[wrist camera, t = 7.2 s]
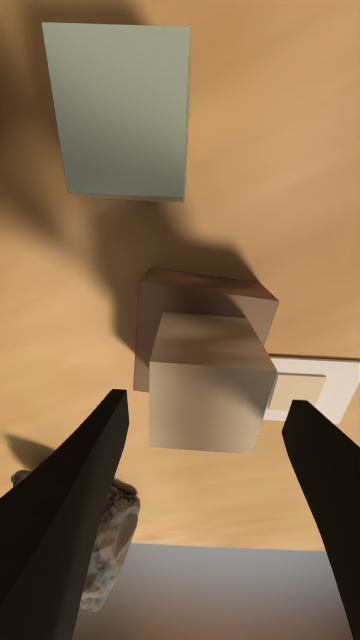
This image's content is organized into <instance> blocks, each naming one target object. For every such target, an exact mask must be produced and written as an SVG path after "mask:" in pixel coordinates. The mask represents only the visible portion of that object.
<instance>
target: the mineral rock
mask: <svg viewBox="0 0 360 640" xmlns="http://www.w3.org/2000/svg"><path fill="white" fill-rule="evenodd" d="M30 473H31V471H28V470H20V471H17V472H16V473H15V474H14V475H13V476H12V477H11V482H13V487H14V486H16V485H17V484H18V483H19V482H21V481H22V480H23V479H24V478H25V477H27V476H28V475H29V474H30ZM139 511H140V500H139V498H138V497H137V496H135V495H133V496H131V495H129V494H126V493H124V492H122V491H120V490H117V488H116V487H115V486H111V488H110V491H109V494H108V497H107V500H106V503H105V506H104V509H103V513H102V516H101V520H100V523H99V527H98V531H97V535H96V539H95V543H94V547H93V551H92V555H91V559H90V564H89V568H88V572H87V576H86V580H85V585H84V589H83V593H82V597H81V602H80V607H81V608H82V609H86V610H88V611H89V612H94V611H98V610H99V609H100V608H101V606H102V604H103V603H104V601H105V599H106V597H107V595H108V593H109V591H110V589H111V588H112V586H113V584H114V583H115V581H116V579H117V577H118V574H119V572H120V570H121V568H122V566H123V563H124V561H125V558H126V555H127V552H128V549H129V546H130V543H131V540H132V537H133V535H134V532H135V529H136V526H137V521H138V514H139Z"/></svg>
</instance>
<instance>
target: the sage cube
mask: <svg viewBox="0 0 360 640" xmlns="http://www.w3.org/2000/svg"><path fill="white" fill-rule="evenodd" d="M41 23H42V29H43V36H44V42H45V49H46V55H47V62H48V68H49V75H50V81H51V88H52V95H53V101H54V108H55V114H56V121H57V127H58V134H59V140H60V147H61V154H62V160H63V167H64V173H65V180H66V186H67V192H68V193H74V194H79V195H85V196H91V197H96V198H102V199H113V200H136V201H159V202H182V203H185V185H186V162H187V139H188V116H189V67H190V27H176V26H145V25H114V24H83V23H51V22H41Z"/></svg>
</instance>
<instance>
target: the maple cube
mask: <svg viewBox="0 0 360 640" xmlns="http://www.w3.org/2000/svg"><path fill="white" fill-rule="evenodd" d="M276 374H277V369H276V367H275V366H274V364H273V362H272V360H271V359H270V357H269V355H268V353H267V352H266V350H265V348H264V346H263V345H262V343H261V341H260V339H259V338H258V336H257V334H256V333H255V331H254V329H253V327H252V326H251V324H250V322H249V320H248V319H247V318H241V317H227V316H213V315H199V314H185V313H171V312H163V313H162V317H161V321H160V324H159V328H158V332H157V336H156V340H155V343H154V347H153V351H152V355H151V358H150V380H149V447H158V448H172V449H185V450H199V451H212V452H226V453H239V454H252V453H253V450H254V447H255V443H256V440H257V437H258V433H259V430H260V427H261V424H262V420H263V417H264V414H265V410H266V407H267V404H268V401H269V397H270V394H271V391H272V387H273V384H274V381H275V378H276Z"/></svg>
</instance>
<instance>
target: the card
mask: <svg viewBox="0 0 360 640" xmlns="http://www.w3.org/2000/svg"><path fill="white" fill-rule="evenodd" d="M269 357H270V359H271V360H272V362H273V364H274V366H275V367H276V369H277V374H276V378H275V381H274V384H273V387H272V391H271V394H270V397H269V401H268V404H267V407H266V410H265V414H264V417H263V420H277V421H286V418H287V415H288V412H289V409H290V406H291V403H292V400H307V401H308V402H310V403H311V404H312V405H313V406H314V407H315V408H316V409H318V410H319V411H320V412H321V413H322V414H323V415H324V416H325V417H326V418H328V419H329V420H330V421H331V422H332V423H333V424H339V423H340V421H341V419H342V417H343V415H344V413H345V411H346V409H347V407H348V405H349V403H350V401H351V398H352V396H353V394H354V392H355V390H356V388H357V386H358V384H359V382H360V361H354V360H336V359H317V358H298V357H279V356H269Z"/></svg>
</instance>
